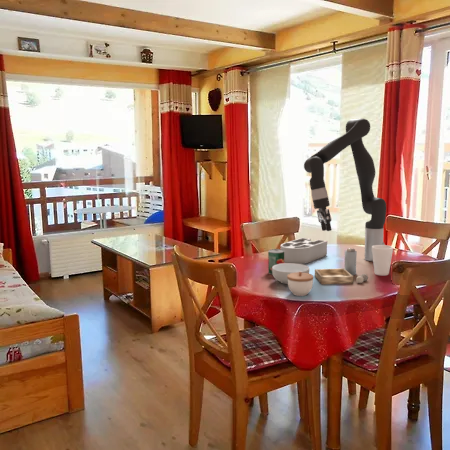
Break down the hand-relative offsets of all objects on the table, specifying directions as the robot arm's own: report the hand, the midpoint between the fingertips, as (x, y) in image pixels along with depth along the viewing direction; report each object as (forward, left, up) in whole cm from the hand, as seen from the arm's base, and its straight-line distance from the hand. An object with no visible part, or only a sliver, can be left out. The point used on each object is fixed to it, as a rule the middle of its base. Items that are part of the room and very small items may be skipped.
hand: (326, 230), depth 229 cm
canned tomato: (+25, +1, -20) cm, 32 cm away
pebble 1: (-9, +23, -20) cm, 32 cm away
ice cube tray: (+7, -27, -20) cm, 34 cm away
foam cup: (-24, +9, -20) cm, 33 cm away
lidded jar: (+20, +35, -20) cm, 45 cm away
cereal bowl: (+21, +18, -20) cm, 34 cm away
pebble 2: (-12, +20, -20) cm, 31 cm away
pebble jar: (-9, +8, -20) cm, 23 cm away
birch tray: (+1, +16, -20) cm, 26 cm away
